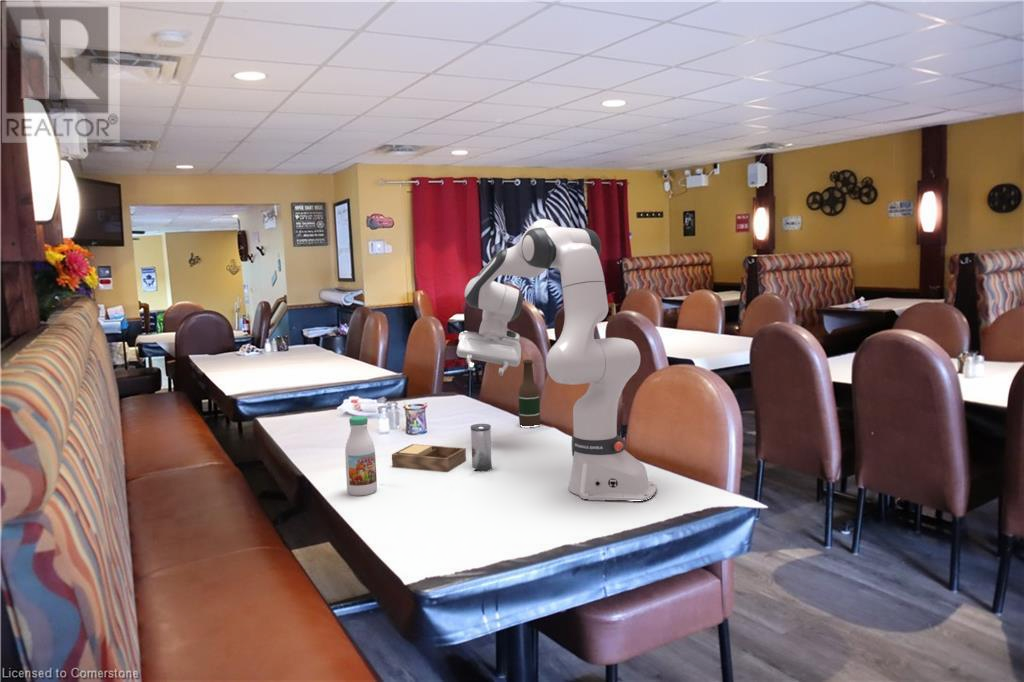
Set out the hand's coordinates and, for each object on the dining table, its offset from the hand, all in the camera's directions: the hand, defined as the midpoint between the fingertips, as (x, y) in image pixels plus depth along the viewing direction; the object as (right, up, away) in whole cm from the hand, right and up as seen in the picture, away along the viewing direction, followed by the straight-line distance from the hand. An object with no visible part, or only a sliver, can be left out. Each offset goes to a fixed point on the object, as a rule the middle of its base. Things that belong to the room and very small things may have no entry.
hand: (485, 371), depth 220 cm
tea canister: (0, -27, -14) cm, 31 cm away
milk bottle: (-31, -30, -31) cm, 54 cm away
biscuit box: (-20, -26, -8) cm, 34 cm away
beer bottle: (+15, -21, +37) cm, 45 cm away
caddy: (-16, -27, -10) cm, 33 cm away
